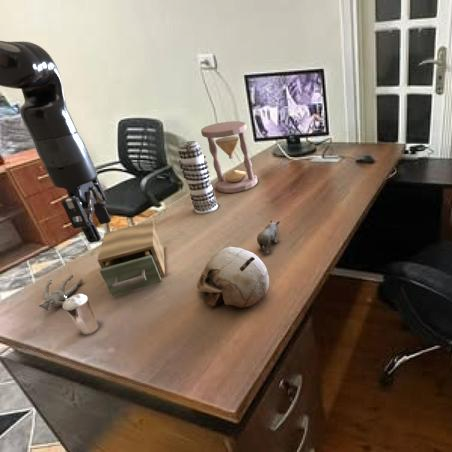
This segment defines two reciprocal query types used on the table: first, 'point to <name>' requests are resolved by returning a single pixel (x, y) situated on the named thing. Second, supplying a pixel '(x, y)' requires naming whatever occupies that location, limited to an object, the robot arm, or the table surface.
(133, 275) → the drawer
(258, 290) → the coin bank
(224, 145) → the hourglass
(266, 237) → the rhino figurine
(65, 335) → the table surface
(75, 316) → the milkshake
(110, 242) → the cabinet
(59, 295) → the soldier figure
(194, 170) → the leaning tower model
